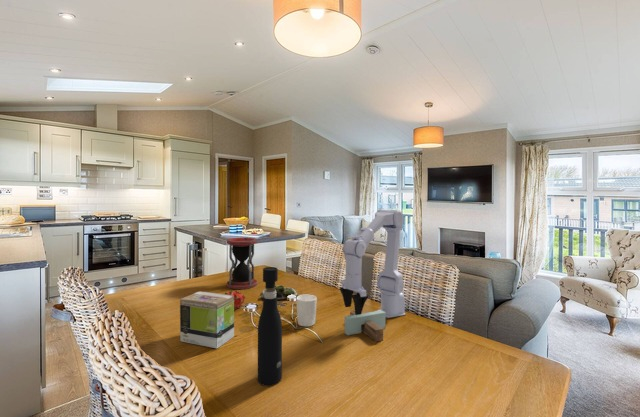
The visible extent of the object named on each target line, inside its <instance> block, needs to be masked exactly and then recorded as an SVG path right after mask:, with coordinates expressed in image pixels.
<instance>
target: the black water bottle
mask: <svg viewBox="0 0 640 417" xmlns="http://www.w3.org/2000/svg"><path fill="white" fill-rule="evenodd" d="M278 274H279V273H278V267H275V266H267V267H264V268H262V282H264V283H265V286H264V288H265V289H264V290H265V291H264V297H263V298H262V309H261V313H260V315H259V318H258V323H257V382H258V383H259V384H260V385H262V386H267V387H271V386H274V385H277V384H279V382H281V381H282V376H283V375H282V374H283V370H282V369H283V368H282V367H283V364H282V363H283V324H282V318H281V315H280V314H281V313H280V312H279V309H278V301H277V296H276V293H277V292H276V290H275V286H276V283H277V282H278V276H279V275H278Z"/></svg>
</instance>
